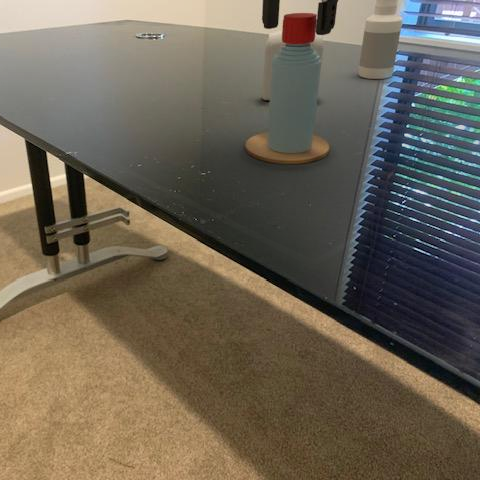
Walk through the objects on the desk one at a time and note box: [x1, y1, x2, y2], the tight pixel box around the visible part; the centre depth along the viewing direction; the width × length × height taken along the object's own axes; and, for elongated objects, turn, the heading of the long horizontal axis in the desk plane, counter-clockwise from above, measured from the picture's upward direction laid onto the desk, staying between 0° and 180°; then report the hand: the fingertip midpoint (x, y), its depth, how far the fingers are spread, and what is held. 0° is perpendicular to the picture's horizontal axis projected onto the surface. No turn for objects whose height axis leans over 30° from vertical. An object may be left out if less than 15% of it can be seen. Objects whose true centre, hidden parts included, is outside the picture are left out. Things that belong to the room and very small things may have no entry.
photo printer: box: [261, 30, 325, 101], centre depth 92 cm, size 10×4×12 cm, turn 78°
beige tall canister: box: [357, 0, 403, 80], centre depth 102 cm, size 7×7×18 cm
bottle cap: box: [281, 12, 317, 44], centre depth 65 cm, size 4×4×3 cm
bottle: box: [267, 43, 322, 153], centre depth 69 cm, size 6×6×17 cm
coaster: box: [244, 131, 330, 165], centre depth 74 cm, size 12×12×1 cm
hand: (296, 31), depth 66 cm, fingers open, 8 cm apart
